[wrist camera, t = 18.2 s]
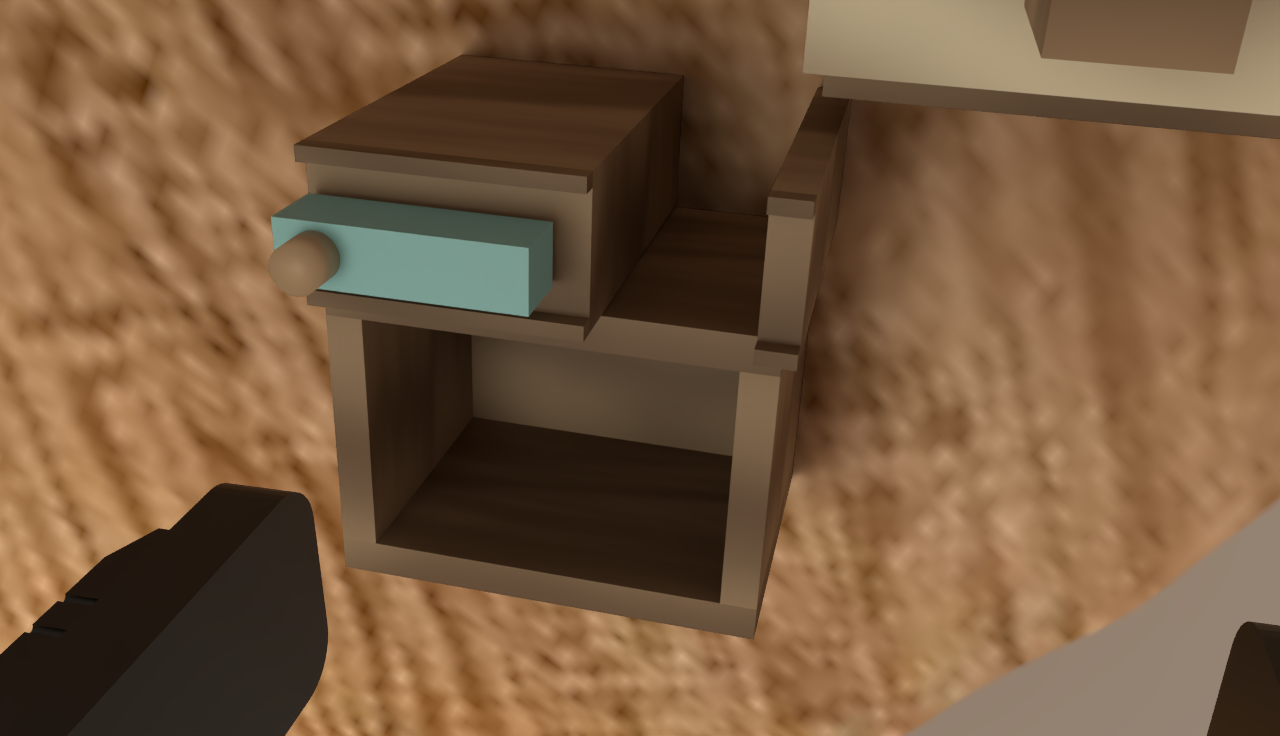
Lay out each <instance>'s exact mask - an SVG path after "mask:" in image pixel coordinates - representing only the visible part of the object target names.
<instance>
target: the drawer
mask: <svg viewBox="0 0 1280 736" xmlns="http://www.w3.org/2000/svg"><path fill="white" fill-rule="evenodd" d="M803 73H807V74H818V75H829V76H840V77H851V78H862V79H874V80H885V81H896V82H907V83H918V84H929V85H940V86H952V87H963V88H974V89H985V90H996V91H1007V92H1018V93H1029V94H1041V95H1052V96H1063V97H1074V98H1085V99H1096V100H1107V101H1119V102H1130V103H1141V104H1152V105H1163V106H1174V107H1185V108H1197V109H1208V110H1219V111H1230V112H1241V113H1252V114H1263V115H1275V116H1280V0H810V2H809V12H808V22H807V32H806V42H805V53H804V63H803Z"/></svg>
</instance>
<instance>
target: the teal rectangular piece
mask: <svg viewBox="0 0 1280 736" xmlns="http://www.w3.org/2000/svg"><path fill="white" fill-rule="evenodd" d="M271 221H272V231H273V241H274V251H273V253H272V254H271V256H270V258H269V264H268V265H269V272H270V275H271V278H272V280H273V281H274V283H275V284H276V285H277V287H278V288H279V289H281V290H282V291H283V292H285V293H286V294H289V295H291V296H295V297H304V296H307V295H310V294H311V293H313V292H314V291H315V290H316V289H324V290H331V291H339V292H346V293H354V294H361V295H369V296H376V297H384V298H391V299H399V300H406V301H414V302H421V303H429V304H436V305H444V306H451V307H459V308H466V309H474V310H481V311H489V312H496V313H504V314H511V315H519V316H526V317H529V316H530V314H531V313H532V312H533V311H534V309H535V308H536V307H537V306H538V304H539V303H540V302H541V301H542V300H543V298H544V297H545V296H546V295H547V293H548V292H549V291H550V290H551V288H552V274H553V222H550V221H542V220H533V219H525V218H516V217H508V216H499V215H491V214H482V213H474V212H465V211H457V210H448V209H440V208H431V207H423V206H414V205H406V204H397V203H389V202H380V201H372V200H363V199H355V198H346V197H337V196H329V195H320V194H312V193H308V194H307V195H305V196H303V197H302V198H300V199H299V200H297V201H295V202H294V203H292V204H291V205H289V206H287V207H286V208H284V209H283V210H281V211H279V212H278V213H276V214H275V215H273V216H271Z"/></svg>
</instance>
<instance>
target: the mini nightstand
mask: <svg viewBox="0 0 1280 736" xmlns="http://www.w3.org/2000/svg"><path fill="white" fill-rule="evenodd" d="M683 78H684V75H675V74H664V73H653V72H642V71H631V70H620V69H609V68H598V67H588V66H577V65H566V64H555V63H544V62H533V61H522V60H512V59H501V58H490V57H479V56H468V55H460V56H459V57H457V58H455V59H453V60H451V61H449V62H447V63H446V64H444V65H442V66H440V67H438V68H436V69H434V70H432V71H431V72H429V73H427V74H425V75H423V76H421V77H419V78H418V79H416V80H414V81H412V82H410V83H408V84H406V85H404V86H403V87H401V88H399V89H397V90H395V91H393V92H391V93H390V94H388V95H386V96H384V97H382V98H380V99H378V100H376V101H375V102H373V103H371V104H369V105H367V106H365V107H363V108H361V109H360V110H358V111H356V112H354V113H352V114H350V115H348V116H347V117H345V118H343V119H341V120H339V121H337V122H335V123H333V124H332V125H330V126H328V127H326V128H324V129H322V130H320V131H319V132H317V133H315V134H313V135H311V136H309V137H307V138H305V139H304V140H302V141H300V142H298V143H296V144H294V153H295V162H303V163H306V170H307V182H308V193H312V194H320V195H329V196H337V197H346V198H355V199H363V200H372V201H380V202H389V203H397V204H406V205H414V206H423V207H431V208H440V209H448V210H457V211H465V212H474V213H482V214H491V215H499V216H508V217H516V218H525V219H533V220H542V221H550V222H553V274H552V288H551V290H550V291H549V292H548V293H547V295H546V296H545V297H544V298H543V300H542V301H541V302H540V303H539V304H538V306H537V307H536V308H535V309H534V311H533V312H532V313H531V314H530V316H529V317H526V316H519V315H511V314H504V313H496V312H489V311H481V310H474V309H466V308H459V307H451V306H444V305H436V304H429V303H421V302H414V301H406V300H399V299H391V298H384V297H376V296H369V295H361V294H354V293H346V292H339V291H331V290H324V289H316V290H315V291H314V292H313V293H311V294H310V295H307V305H313V306H320V307H326V320H327V332H328V345H329V358H330V371H331V384H332V396H333V409H334V422H335V435H336V447H337V460H338V473H339V486H340V499H341V511H342V524H343V537H344V550H345V562H346V567H351V568H356V569H362V570H367V571H373V572H379V573H384V574H390V575H395V576H401V577H407V578H412V579H418V580H423V581H429V582H435V583H440V584H446V585H451V586H457V587H463V588H468V589H474V590H479V591H485V592H491V593H496V594H502V595H507V596H513V597H519V598H524V599H530V600H535V601H541V602H547V603H552V604H558V605H563V606H569V607H575V608H580V609H586V610H591V611H597V612H603V613H608V614H614V615H619V616H625V617H630V618H636V619H642V620H647V621H653V622H658V623H664V624H670V625H675V626H681V627H686V628H692V629H698V630H703V631H709V632H714V633H720V634H726V635H731V636H737V637H742V638H748V639H754V635H755V631H756V627H757V623H758V618H759V614H760V610H761V606H762V601H763V597H764V593H765V589H766V585H767V580H768V576H769V572H770V568H771V563H772V559H773V555H774V551H775V546H776V542H777V538H778V534H779V529H780V525H781V521H782V517H783V512H784V508H785V504H786V500H787V496H788V491H789V487H790V483H791V479H792V472H793V463H794V454H795V445H796V436H797V427H798V418H799V409H800V400H801V391H802V382H803V373H804V364H805V355H806V346H807V337H808V328H809V323H810V320H811V316H812V312H813V309H814V305H815V301H816V297H817V294H818V290H819V286H820V283H821V279H822V275H823V272H824V268H825V264H826V261H827V257H828V253H829V249H830V246H831V242H832V238H833V235H834V231H835V227H836V224H837V217H838V209H839V200H840V192H841V183H842V175H843V166H844V158H845V149H846V141H847V132H848V124H849V115H850V107H851V99H844V98H834V97H823V96H822V92H823V88H818V89H817V91H816V93H815V95H814V97H813V100H812V102H811V104H810V106H809V108H808V110H807V113H806V115H805V117H804V119H803V121H802V124H801V126H800V128H799V130H798V132H797V134H796V137H795V139H794V141H793V143H792V145H791V148H790V150H789V152H788V154H787V156H786V158H785V161H784V163H783V165H782V167H781V169H780V172H779V174H778V176H777V178H776V180H775V182H774V185H773V187H772V189H771V191H770V193H769V196H768V202H767V213H766V215H769V217H761V216H752V215H743V214H735V213H726V212H717V211H708V210H699V209H690V208H681V207H675V205H676V202H677V185H678V167H679V149H680V132H681V114H682V96H683Z"/></svg>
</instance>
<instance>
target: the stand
mask: <svg viewBox="0 0 1280 736" xmlns="http://www.w3.org/2000/svg"><path fill="white" fill-rule="evenodd" d="M822 96H823V97H834V98H844V99H855V100H866V101H877V102H887V103H898V104H909V105H919V106H930V107H941V108H952V109H962V110H973V111H984V112H994V113H1005V114H1016V115H1027V116H1037V117H1048V118H1059V119H1069V120H1080V121H1091V122H1102V123H1112V124H1123V125H1134V126H1144V127H1155V128H1166V129H1177V130H1187V131H1198V132H1209V133H1219V134H1230V135H1241V136H1251V137H1262V138H1273V139H1280V116H1275V115H1263V114H1252V113H1241V112H1230V111H1219V110H1208V109H1197V108H1185V107H1174V106H1163V105H1152V104H1141V103H1130V102H1119V101H1107V100H1096V99H1085V98H1074V97H1063V96H1052V95H1041V94H1029V93H1018V92H1007V91H996V90H985V89H974V88H963V87H952V86H940V85H929V84H918V83H907V82H896V81H885V80H874V79H862V78H851V77H840V76H829V75H824V83H823V92H822Z"/></svg>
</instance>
